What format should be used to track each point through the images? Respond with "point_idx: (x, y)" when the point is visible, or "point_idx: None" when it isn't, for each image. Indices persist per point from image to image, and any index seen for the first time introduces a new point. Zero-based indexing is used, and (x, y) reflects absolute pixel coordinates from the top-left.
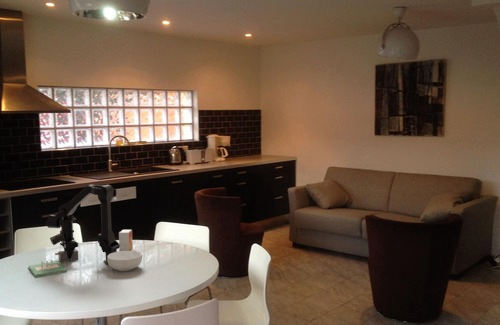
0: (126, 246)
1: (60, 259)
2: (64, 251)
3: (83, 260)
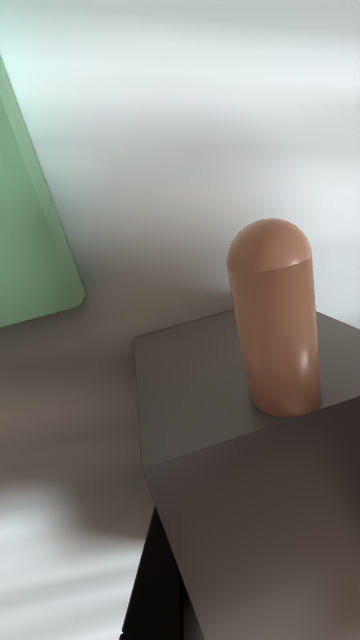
0: None
1: (135, 359)
2: (350, 536)
3: (110, 606)
